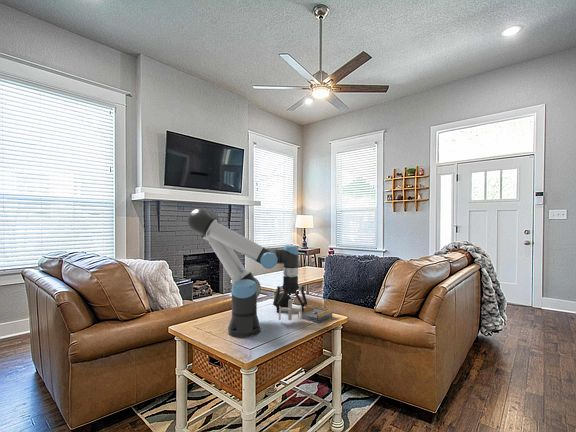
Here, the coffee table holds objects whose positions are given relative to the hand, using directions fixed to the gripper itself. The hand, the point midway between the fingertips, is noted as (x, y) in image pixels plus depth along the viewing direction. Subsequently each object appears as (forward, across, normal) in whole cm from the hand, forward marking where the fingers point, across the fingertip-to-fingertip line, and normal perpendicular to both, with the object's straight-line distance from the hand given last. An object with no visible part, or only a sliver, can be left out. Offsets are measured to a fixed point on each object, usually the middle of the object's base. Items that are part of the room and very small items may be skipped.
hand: (289, 318), depth 162 cm
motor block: (+1, +15, +5) cm, 16 cm away
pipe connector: (+1, 0, 0) cm, 1 cm away
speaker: (+2, 0, +21) cm, 21 cm away
